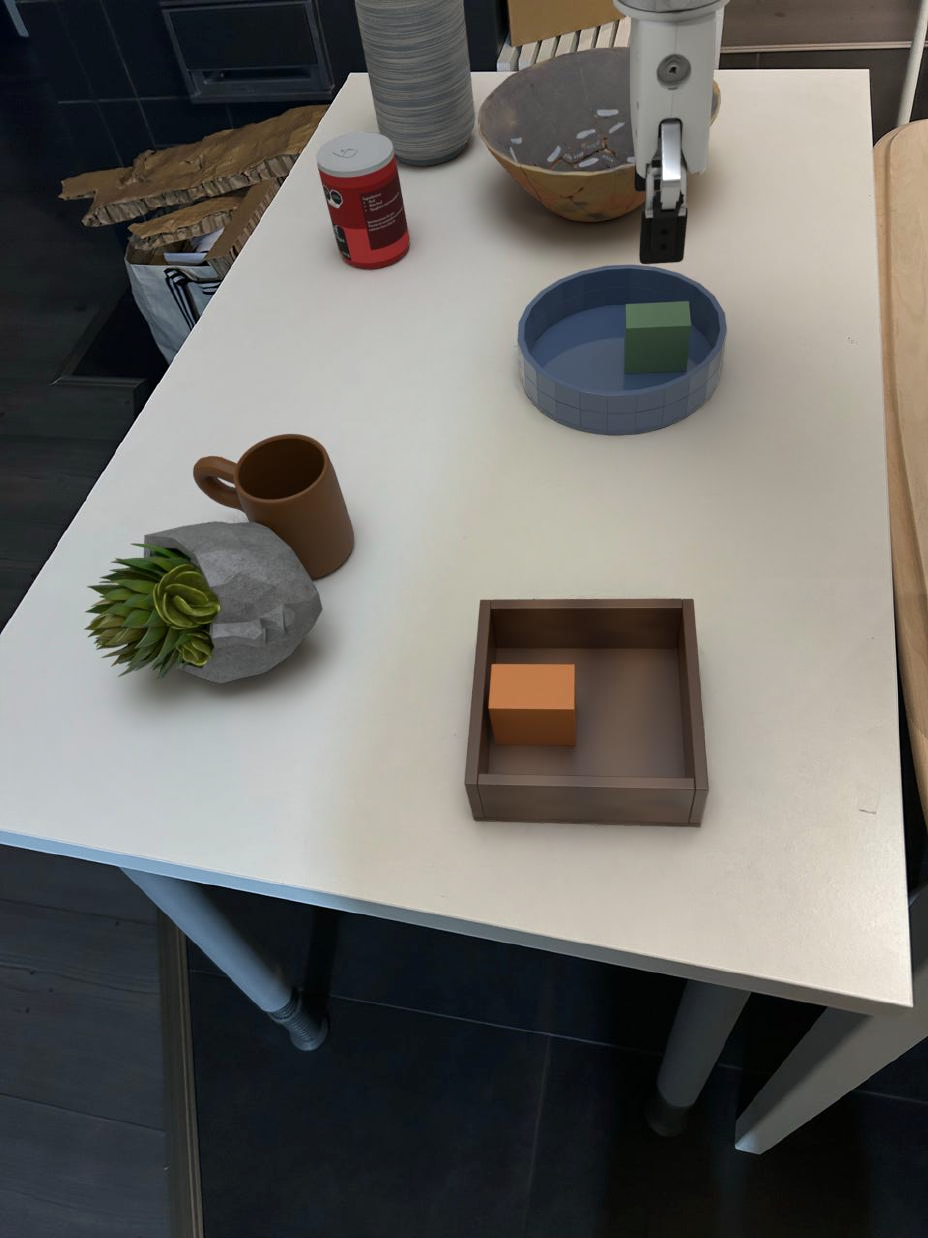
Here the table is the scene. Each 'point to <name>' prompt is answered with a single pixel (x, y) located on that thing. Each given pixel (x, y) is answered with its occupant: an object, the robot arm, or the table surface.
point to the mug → (286, 497)
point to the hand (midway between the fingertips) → (657, 223)
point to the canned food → (364, 199)
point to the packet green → (656, 337)
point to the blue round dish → (615, 351)
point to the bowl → (570, 132)
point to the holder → (595, 715)
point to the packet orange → (533, 704)
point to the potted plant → (207, 602)
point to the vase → (419, 76)
